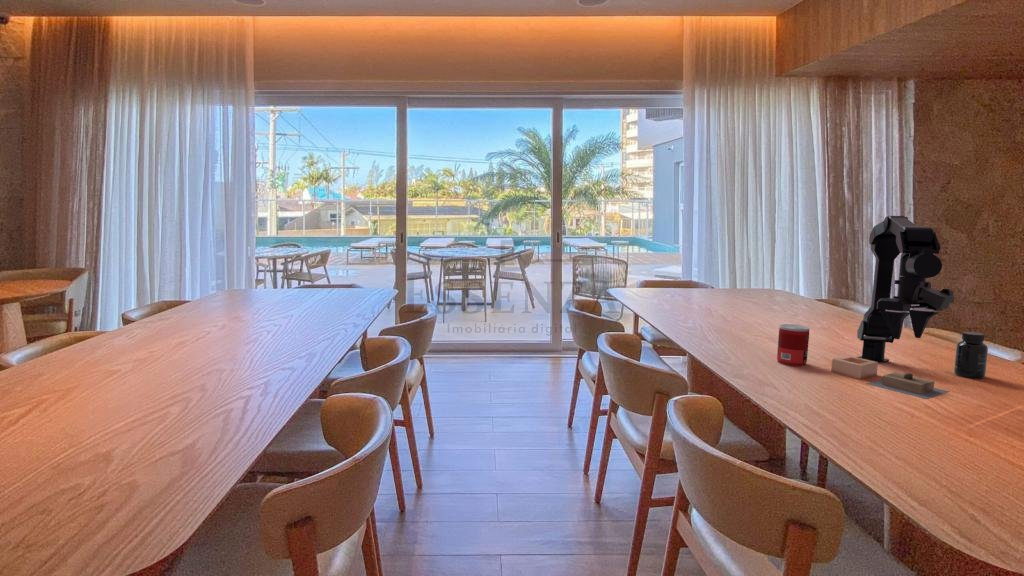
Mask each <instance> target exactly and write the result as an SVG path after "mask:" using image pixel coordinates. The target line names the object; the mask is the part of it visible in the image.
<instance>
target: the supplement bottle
mask: <svg viewBox="0 0 1024 576" xmlns="http://www.w3.org/2000/svg"><path fill="white" fill-rule="evenodd" d="M985 335H986V334H984V333H981V332H974V331H962V334H961V341H959V342H957V344H956V347H955V358H954V359H955V360H954V368H953V369H954V370H953V373H954V375H956V374H957V375H956V376H958V375H959V376H958V377H962V376H963V378H966V377H969V378H968V379H975V378H981V379H984V378H985V377H986V372H987V364H988V363H987V361H988V353H989V352H988V351H989V347H988V345H986V344H985V343H984V342H985V337H986V336H985Z"/></svg>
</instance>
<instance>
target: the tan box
mask: <svg viewBox="0 0 1024 576" xmlns="http://www.w3.org/2000/svg"><path fill="white" fill-rule="evenodd" d="M857 357H858V356H851V355H845V356H844V355H843V356H841V357H836V358H832V359H831V371H830V372H831V373H835V374H839V375H842V376H847V377H850V378H855V379H859V380H863V379H867V378H870V377H875V376H877V374H878V367H879V363H878V362H875V361H871V360H866V359H862V358H857Z"/></svg>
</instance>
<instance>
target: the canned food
mask: <svg viewBox="0 0 1024 576" xmlns="http://www.w3.org/2000/svg"><path fill="white" fill-rule="evenodd" d="M777 340H778V341H777V353H776V359H777V362H778V363H779V364H782V365H784V364H785V366H789V367H790V366H791V367H803V366H806V365H807V362H808V353H809V340H810V327H808V326H805V325H800V324H794V323H793V324H792V323H785V324H784V323H783V324H780V325H779V328H778V339H777Z"/></svg>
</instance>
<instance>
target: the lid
mask: <svg viewBox="0 0 1024 576" xmlns="http://www.w3.org/2000/svg"><path fill="white" fill-rule="evenodd" d="M881 379H882V385H885V386H889V387H893V388H897V389H901V390H905V391H909V392H913V393H917V394H923V393H926V392H930V391H933V389H934V388H935V380H930V379H926V378H922V377H919V376H914V374H913V373H910V372H903V373H901V372H896V371H895V372H891V373H887V374H884V375H882V377H881Z"/></svg>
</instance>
